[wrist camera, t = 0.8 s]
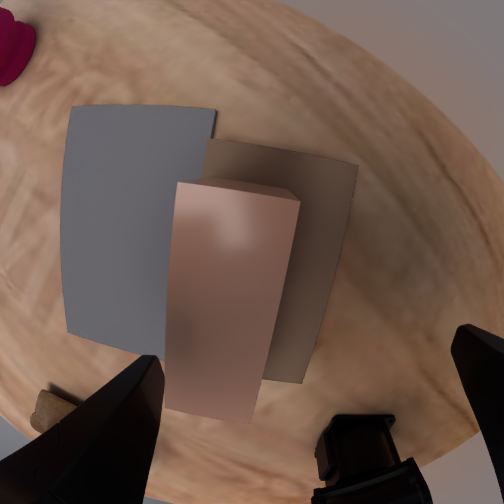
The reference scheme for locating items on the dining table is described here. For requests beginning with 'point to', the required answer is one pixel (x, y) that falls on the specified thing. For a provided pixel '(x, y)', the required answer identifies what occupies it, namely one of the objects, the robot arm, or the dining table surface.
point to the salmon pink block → (224, 293)
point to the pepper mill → (14, 46)
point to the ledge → (295, 238)
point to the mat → (124, 217)
